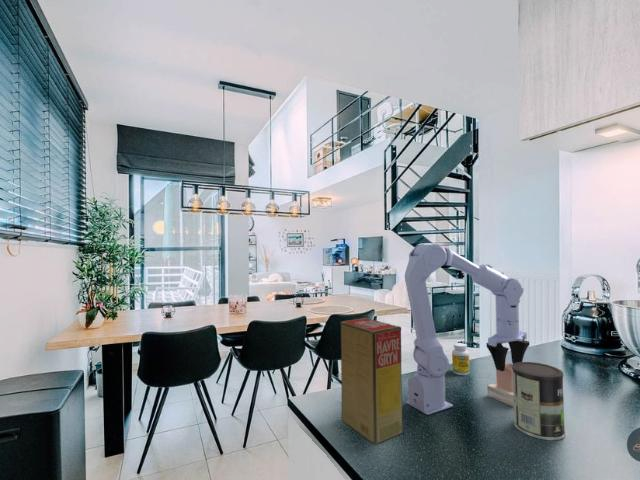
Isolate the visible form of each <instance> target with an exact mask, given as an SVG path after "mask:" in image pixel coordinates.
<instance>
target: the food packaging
mask: <svg viewBox="0 0 640 480" xmlns="http://www.w3.org/2000/svg"><path fill="white" fill-rule="evenodd" d="M340 358H341V359H340V360H341V361H340V365H341V366H340V367H341V369H340V370H341V371H340V372H341V373H340V374H341V377H340V379H341V421H342V422H343V423H345V424H346V425H347V426H348V427H350V428H351V429H353V430H354V431H355V432H356V433H358V434H359V435H360V436H361V437H362V438H364V439H366V441H368V442H369V443H372V444H373V445H374V446H376V445H379V444H381V443H383V442H385V441H387V440H391V439H392V438H394V437H396V436H399V435H401V434H403V433H404V432H403V393H402V388H403V387H402V382H403V381H402V327H401V326H399V325H394V324H390V323H387V322H383V321H382V322H381V321H380V320H379V321H378V320H374V319H371V318H367V317H362V318H355V319H349V320H348V319H347V320H343V321H340Z"/></svg>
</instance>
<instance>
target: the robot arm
mask: <svg viewBox="0 0 640 480" xmlns="http://www.w3.org/2000/svg"><path fill="white" fill-rule="evenodd" d="M442 266H450V267H452V268H454V269H456V270H458V271H461V272H463V273H465V274H467V275H469V276H471V279H472V282H473V283H475V284H477V285H479V286H481V287H482V288H485V289H487V290H488V291H491V293H492V295H494V296H495V326H496V327H495V328H496V333H495V334H493V335H492V336H490V337H488V338H487V342H486V344H485V345H486V348H487V349H488V351H489V353H490V355H491V357H492V359H493V363H494V367H495V370H496V369H497V370H500V371H504V370H505V363H506V359H507V354H508V352H509V351H510V355H511V362H512V363H511V364H514V363H518V362H524V361H523V359H524V356H525V353H526V351H527V349H528V347H529V346H530V341H529V340H527V339H528V336H527V332H525V331H521V330H520V311H519V309H520V307H519V305H520V303H521V302H520V301H521V297H522V296H523V294H524V288H523V286H522V284H521V283H520V281H519V280H518V279H516V278H511V277H507V274H506V273H504V272H499V271H498V270H495V269H493V266H492V265H490V264H480V265H477V264H475V263H474V262H472V261H470V260H468V259H467V258H465V257H464V256H461V255H459V254H458V253H457V252H455V251H454V250H452V249H450V248H448V247H444V246H443V245H441V244H438V243H437V244H436V243H434V244H418V245H416V246H414V248H413V249H412V250H411V251H410V252H409V253H408V262H407V266H406V267H405V268H406V269H405V273H404V281H405V286H406V287H405V288H406V291H407V297H408V301H409V305H410V311H411V316H412V321H413V326H414V331H415V337H416V338H415V339H414V340H413V343H414V347H413V348H414V349H413V354H412V355H413V360H414V362H416V363H417V366H416V372H415V374H414V375H412V376H410V377H409V379H408V400H407V401H406V404H408V405H409V406H411V407H413V408H414V409H417V410H418V411H420V412H422V413H423V414H425V415H427V416H428V415H432V414H435V413H437V412H441V411H444V410H447V409H450V408H452V407H453V404H452V403H450V402H449V401H446V384H445V383H446V380H445V379H446V378H445V374H446V373H447V372H448V369H449V368H450V361H449V360H450V359H449V358H448V357H447V355H446V354H445V352H444V348H443V345H442V344H441V342H440V340H439V339H438V337H437V332H436V328H435V322H434V316H433V312H432V307H431V302H430V295H429V292H428V288H427V287H428V286H427V280H428V278H429V277H430V276H431V274H432V273H434V272H436V271H437V270H439V269H440V268H441V267H442ZM506 343H508V346H509V347H506V346H504V345H503V344H506Z"/></svg>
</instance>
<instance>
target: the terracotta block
mask: <svg viewBox="0 0 640 480" xmlns="http://www.w3.org/2000/svg"><path fill="white" fill-rule="evenodd" d="M512 365H513V363H509V362H505V370H504V371H500V370H497V369H496V368H495V370H496V375H495V376H496V382H497V386H498V387H500V388H503V389H505V390H508V391H511V392H513V370H512Z"/></svg>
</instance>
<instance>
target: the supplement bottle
mask: <svg viewBox="0 0 640 480" xmlns="http://www.w3.org/2000/svg"><path fill="white" fill-rule="evenodd" d="M467 346H468V345H467V344H466V343H463V342H455V343H454V344H453V348H454V349H453V350H452V352H451V354H452V359H451V361H452V372H453V373H454V374H456V375H459V376H468V375H470V371H471V370H470V353H469V351H468V350H467V348H468V347H467Z"/></svg>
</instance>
